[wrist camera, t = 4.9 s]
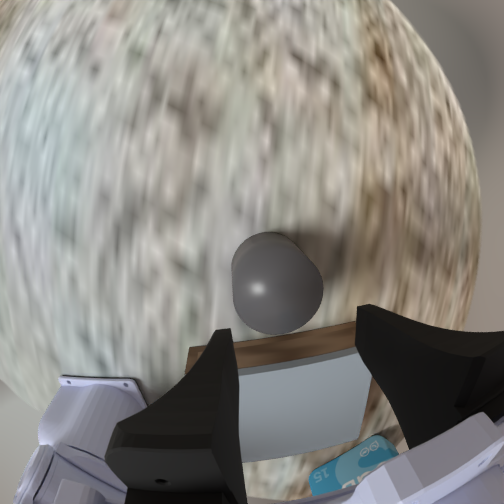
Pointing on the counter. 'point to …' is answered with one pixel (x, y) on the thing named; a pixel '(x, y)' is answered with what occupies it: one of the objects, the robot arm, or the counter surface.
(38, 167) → the counter surface
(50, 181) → the counter surface
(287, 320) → the dark grey rounded plug
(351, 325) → the box
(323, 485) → the data package
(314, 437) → the lid
